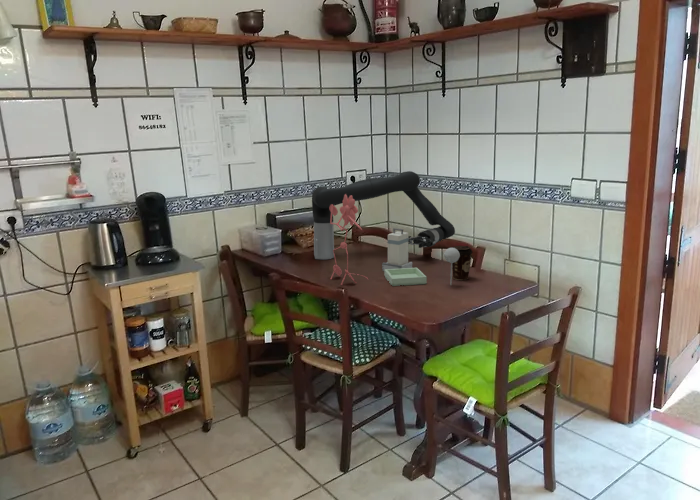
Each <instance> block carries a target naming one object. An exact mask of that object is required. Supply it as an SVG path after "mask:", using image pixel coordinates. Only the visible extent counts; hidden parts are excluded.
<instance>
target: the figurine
mask: <svg viewBox="0 0 700 500" xmlns="http://www.w3.org/2000/svg"><path fill="white" fill-rule="evenodd" d="M355 204H356V201H355V200H354V199H353V197H352V195H351V196H350V197H349V198H347V195H346V194H345V195H344V199H343V203H342V206H340V207H339V211H338V209H337V207H336V205H335V206H334V205H333V204H332V205H330V207H329V210H330V212H331V218H330V224H333V225H336V226H337V227H339V229H340V231H341V232H343V231H345V235H344V241H343V242H340V246H339V247H336V248H334V250H333V253H334V258H333V259H334V262H335V264H334V265H333V266H332V270H333V271H332V274H331V277H330V280H332V279H333V277H334V276H335V275H334V274H336V275H337V276H338V277H340V276H341V275H342V274H343V273H342V272H343V271H342V269H341V267H340V266H339V265H337V260H336V255H335V251H336V250H337V249H340V248H341V250H342V249H344V250H345V251H346V269H344V271H345V272H344V276H343V279H342V281H341V283H340V285H341V286H343V283H344V281H345V279H346V277H347V275H348V276H349V278H350V279H351V280H352V281H353V282H354V283H355V284H357V281H356V280H355V278H354V277H353V276H352V275H356V274H357V276H359V274H358V273H352V272H349V253H348V243H346V241H347V235H348V232H349V231H348V229H346V227H345V226H348V225H349V224H350V226H351V227H353V226H354V225H355V226H356V227H357V228H358V229H359V230H361V231H363V229H362V227H361V226H360V225H359V224H358V223H357V221H356V219H357V217H356V214H357V213H358V211H359V209H358V207H357V206H356V205H355ZM338 212H340V213H341V217H340V219H339V220H338V222H333V223H331V222H332V214H333V217H336V215H338ZM342 219H343V221H344V222H343V223H344V224H343V226H342V225H340V223H341V220H342ZM360 276H361V277H365V278H366V279H367V280H369V279H368V277H367V276H366V275H361V274H360Z"/></svg>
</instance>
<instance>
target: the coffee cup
mask: <svg viewBox="0 0 700 500" xmlns="http://www.w3.org/2000/svg"><path fill="white" fill-rule="evenodd" d="M452 248H455V249H457V250H458V251H459V253H460V257H459V259H458V260H457V261H456V262H454V263H452V280H453V279H454V280H456V281H466V280H469V275H470V269H471V262H472V254H473V253H474V252H473V250H472V249H471V247H470V246H468V245H455V246H453V247H452Z"/></svg>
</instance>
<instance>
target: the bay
mask: <svg viewBox="0 0 700 500" xmlns="http://www.w3.org/2000/svg"><path fill="white" fill-rule="evenodd" d="M401 268H413V261H408V263H406V264H404V265H402V266H401V265H395V264H389V263H388V261H387V262H382V263H381V270H382V272H384V269H401Z"/></svg>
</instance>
